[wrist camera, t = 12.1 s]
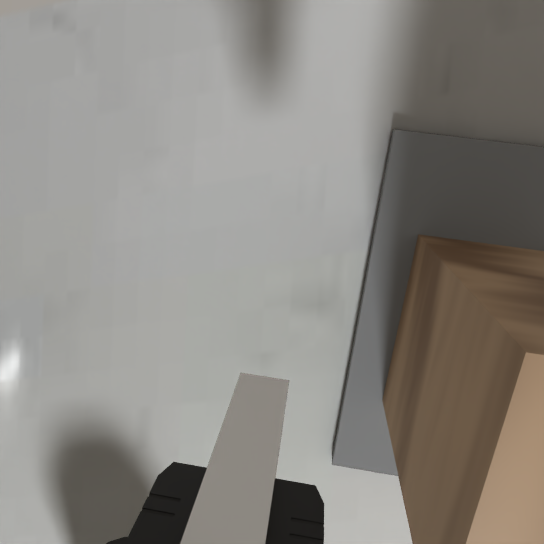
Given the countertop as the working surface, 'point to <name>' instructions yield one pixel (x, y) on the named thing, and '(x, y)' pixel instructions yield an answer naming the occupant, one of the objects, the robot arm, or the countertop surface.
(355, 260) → the countertop surface
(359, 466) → the mat
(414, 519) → the walnut block
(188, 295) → the countertop surface
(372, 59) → the countertop surface
